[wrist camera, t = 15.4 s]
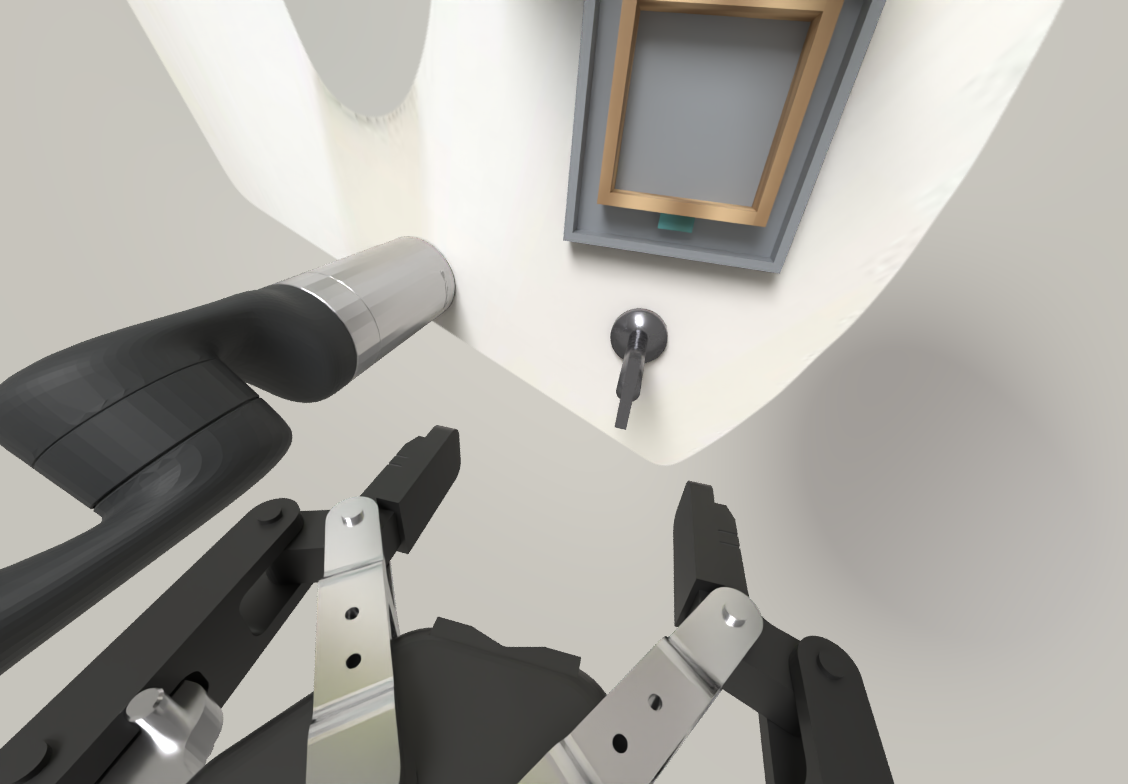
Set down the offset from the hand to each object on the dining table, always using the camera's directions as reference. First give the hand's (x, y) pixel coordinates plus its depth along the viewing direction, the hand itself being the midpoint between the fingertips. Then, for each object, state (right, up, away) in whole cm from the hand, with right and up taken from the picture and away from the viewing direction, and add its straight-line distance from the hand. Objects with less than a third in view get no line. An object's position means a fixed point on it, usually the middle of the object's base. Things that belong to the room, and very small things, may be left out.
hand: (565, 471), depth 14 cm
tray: (+11, +25, +20) cm, 33 cm away
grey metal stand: (+8, +9, +30) cm, 33 cm away
